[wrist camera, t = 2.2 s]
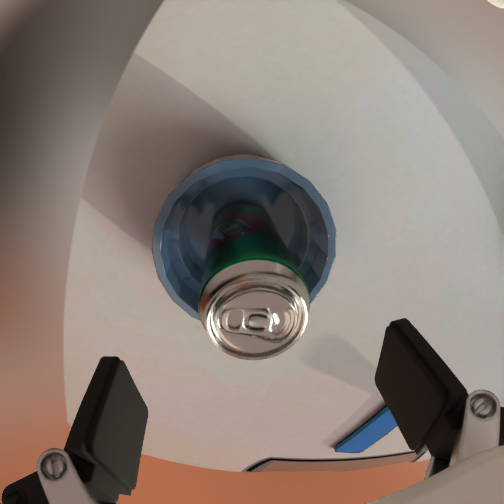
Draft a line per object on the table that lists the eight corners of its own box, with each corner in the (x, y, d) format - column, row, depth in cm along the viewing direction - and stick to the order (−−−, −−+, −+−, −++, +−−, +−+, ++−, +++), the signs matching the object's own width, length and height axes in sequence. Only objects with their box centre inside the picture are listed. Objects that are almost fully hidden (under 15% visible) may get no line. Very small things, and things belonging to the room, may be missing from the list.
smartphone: (332, 451, 38) (399, 399, 33) (330, 447, 39) (396, 395, 34) (360, 453, 40) (422, 404, 35) (358, 449, 40) (420, 400, 36)
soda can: (266, 266, 24) (297, 369, 13) (206, 257, 23) (191, 360, 12) (280, 207, 22) (331, 277, 11) (215, 196, 22) (203, 259, 10)
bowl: (155, 166, 21) (136, 173, 16) (312, 148, 21) (334, 152, 17) (182, 302, 25) (174, 337, 21) (315, 287, 26) (332, 318, 21)
